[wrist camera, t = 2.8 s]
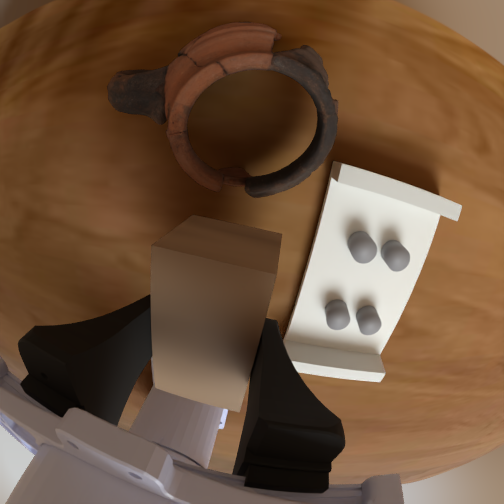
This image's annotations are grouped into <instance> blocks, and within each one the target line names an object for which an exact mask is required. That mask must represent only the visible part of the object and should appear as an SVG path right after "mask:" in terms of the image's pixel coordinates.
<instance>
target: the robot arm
mask: <svg viewBox="0 0 504 504" xmlns="http://www.w3.org/2000/svg"><path fill="white" fill-rule="evenodd" d="M18 348H19V352H20V355H21V357H22V360H23V362H24V364H25V366H26V369H27V371H28V373H29V374H28V375H27V376H26V378H25V379H24V380H23V381H21V380H20V379H19V378H17V377H16V376H15V375H13V374H12V373H11V372H10V371H8V367H7V365H6V363H5V361H4V360H3V359H2V357H1V356H0V425H1V426H3V427H4V428H5V429H6V430H7V431H8V432H9V433H10V434H11V435H12V436H13V437H14V438H15V439H17V440H18V441H19V442H20V443H21V444H22V445H23V446H25V447H26V448H27V449H28V450H29V451H30V452H32V453H33V454H34V455H35V456H34V458H33V460H32V461H31V463H30V464H29V466H28V467H27V469H26V470H25V472H24V474H23V475H22V477H21V478H20V480H19V482H18V483H17V485H16V487H15V488H14V490H13V492H12V493H11V495H10V497H9V498H8V500H7V502H6V504H404V500H403V492H402V486H401V480H400V474H388V475H378V476H373V477H370V478H368V479H366V480H365V481H364V482H363V483H362V484H340V485H329V472H330V471H331V469H332V468H331V462H332V461H333V460H334V459H335V458H336V457H337V456H338V455H339V454H340V453H341V452H342V450H343V449H344V447H345V435H344V430H343V426H342V423H341V420H340V419H339V418H338V417H337V416H336V415H334V414H333V413H332V412H331V411H330V410H329V409H327V408H326V407H325V406H324V405H323V404H322V403H321V402H320V401H319V400H318V399H317V398H316V397H315V395H314V394H313V393H312V392H311V391H310V389H309V388H308V387H307V386H306V384H305V383H304V381H303V380H302V379H301V377H300V375H299V374H298V372H297V370H296V369H295V367H294V365H293V363H292V361H291V359H290V357H289V355H288V353H287V350H286V348H285V345H284V343H283V340H282V337H281V334H280V330H279V326H278V322H277V321H276V320H273V319H268V318H265V322H264V326H263V330H262V333H261V337H260V341H259V345H258V348H257V352H256V356H255V359H254V363H253V366H252V370H251V374H250V384H249V395H248V405H247V412H246V417H245V421H244V426H243V431H242V435H241V440H240V444H239V448H238V453H237V457H236V461H235V465H234V469H233V473H232V474H228V473H223V472H218V471H214V470H210V469H207V468H208V464H209V461H210V457H211V453H212V450H213V446H214V443H215V439H216V435H217V432H218V429H223V428H224V425H225V421H226V416H227V412H228V410H227V409H223V408H219V407H215V406H212V405H208V404H204V403H201V402H197V401H194V400H190V399H187V398H184V397H181V396H178V395H175V394H171V393H168V392H166V391H163V390H160V389H157V388H155V382H154V370H153V356H152V336H151V294H150V295H148V296H146V297H144V298H142V299H140V300H138V301H136V302H134V303H132V304H130V305H128V306H126V307H123V308H121V309H119V310H116V311H114V312H112V313H109V314H106V315H104V316H101V317H97V318H94V319H90V320H86V321H82V322H77V323H71V324H64V325H53V326H34V327H33V328H32V329H31V330H30V331H29V332H28V333H27V334H26V335H24V336H23V337H22V338H21V339H20V340H19V342H18ZM151 357H152V358H151ZM150 358H151V364H152V376H153V387H152V388H151V390H150V392H149V394H148V396H147V398H146V400H145V402H144V403H143V405H142V407H141V409H140V411H139V413H138V415H137V417H136V419H135V420H134V422H133V424H132V426H131V428H130V430H129V431H126V430H124V429H122V428H120V427H117V425H118V422H119V419H120V417H121V414H122V412H123V409H124V407H125V404H126V402H127V400H128V398H129V395H130V393H131V391H132V389H133V387H134V385H135V383H136V381H137V379H138V377H139V375H140V374H141V372H142V371H143V369H144V367H145V366H146V364H147V363H148V361H149V360H150Z"/></svg>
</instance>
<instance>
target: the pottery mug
mask: <svg viewBox="0 0 504 504" xmlns="http://www.w3.org/2000/svg"><path fill="white" fill-rule="evenodd" d="M280 39H281V35H280V34H279V33H277V31H276V30H275V29H272V28H271V27H269V26H267V25H265V24H260V23H251V22H234V23H229V24H224V25H221V26H217V27H215V28H212V29H210V30H208V31H207V32H206V33H203V34H202V35H200V36H198V37H197V38H195V39H194V40H192V41H191V42H189V43H188V44H187V45H186V46H185V47H183V48H182V49H181V50H180V52H179V53H178V57H177V58H175V59H174V61H173V62H172V63H170V65H168V66H165V67H162V68H160V69H156V70H126V71H119V72H117V73H116V75H115V76H114V77H112V79H111V81H110V83H109V84H108V86H107V89H108V100H109V102H110V103H111V104H112V106H113V107H114V108H115V109H116V110H117V111H120V112H124V113H128V114H139V115H145V116H148V117H150V118H151V119H153V120H154V121H155V122H156V123H157V124H159V125H160V124H164V123H165V122H166V120H168V130H166V135H167V137H168V139H169V141H170V146H171V149H172V150H173V153H174V156H175V158H176V160H177V162H178V163H179V165H180V166H181V168H182V169H183V170H184V171H185V172H186V173H187V174H188V175H189V177H191V178H192V179H193V180H195V182H197V183H198V184H200V185H202V186H204V187H206V188H207V189H210V190H212V191H216V192H219V191H220V190H221V188H222V185H223V184H226V185H230V186H245V191H246V193H248V194H249V195H250V196H252V197H254V198H259V197H264V196H269V195H274V194H276V193H279V192H282V191H285V190H288V189H290V188H292V187H294V186H296V185H298V184H299V183H301V182H302V181H304V180H305V179H306V178H307V177H309V176H310V175H311V172H313V171H315V170H316V169H317V168H318V167H319V166H320V165H321V164H322V163H323V162H324V160H325V158H326V157H327V155H328V154H329V152H330V150H331V149H332V147H333V144H334V141H335V137H336V133H337V122H338V117H337V113H338V100H334V99H332V97H331V93H330V90H329V89H328V85H329V83H328V75H327V72H326V70H325V69H324V67H323V61H322V58H321V57H320V55H318V54H317V53H316V52H315V51H314V50H313V49H312V48H311V47H310V46H307V45H303V46H301V48H297V49H292V50H289V51H282V52H275V53H273V52H272V49H273V45H274V41H278V40H280ZM246 70H273V71H276V72H279V73H282V74H284V75H287V76H289V77H291V78H292V79H294V80H296V81H297V82H298V83H300V84H301V85H302V86H303V87H304V88H305V89H306V90H307V92H308V93H309V94H310V96H311V97H312V99H313V101H314V103H315V106H316V108H317V117H318V120H317V129H316V133H315V136H314V138H313V140H312V142H311V144H310V146H309V147H308V148H307V149H306V151H305V152H304V153H303V154H302V155H301V156H300V157H299V158H298V159H296V160H295V161H294V162H292V163H291V164H290V165H288V166H286V167H284V168H282V169H281V170H279V171H276V172H273V173H270V174H267V175H262V176H255V177H252V176H250V174H249V173H247V172H246V171H245V170H244V169H243V168H223V169H219V170H218V171H217V170H215V169H213V168H211V167H210V166H208V165H207V164H206V163H204V162H203V161H202V160H201V159H200V158H199V157H198V156H197V155H196V153H195V152H194V150H193V148H192V146H191V144H190V142H189V138H188V129H187V122H188V117H189V114H190V111H191V109H192V107H193V105H194V103H195V101H196V100H197V98H198V97H199V96H200V95H201V93H202V92H203V91H204V90H205V89H206V88H208V87H209V86H210V85H211V84H213V83H214V82H216V81H217V80H219V79H221V78H223V77H225V76H227V75H230V74H233V73H237V72H240V71H246Z"/></svg>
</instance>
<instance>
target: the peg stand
mask: <svg viewBox="0 0 504 504" xmlns="http://www.w3.org/2000/svg"><path fill="white" fill-rule="evenodd" d="M461 208H462V205H460V204H457V203H455V202H453V201H451V200H448V199H446V198H444V197H441V196H439V195H436V194H434V193H431V192H429V191H426V190H423V189H421V188H418V187H415V186H413V185H410V184H407V183H404V182H401V181H398V180H396V179H393V178H390V177H387V176H383V175H380V174H377V173H374V172H371V171H368V170H364V169H361V168H358V167H354V166H351V165H347V164H343V163H340V162H336V161H333V164H332V168H331V173H330V177H329V181H328V186H327V190H326V194H325V198H324V202H323V206H322V210H321V214H320V218H319V222H318V225H317V229H316V233H315V237H314V240H313V244H312V248H311V251H310V255H309V258H308V262H307V265H306V269H305V272H304V276H303V279H302V283H301V286H300V289H299V293H298V296H297V299H296V302H295V306H294V309H293V312H292V315H291V318H290V321H289V325H288V328H287V331H286V334H285V337H284V340H283V343H284V345H285V348H286V350H287V353H288V355H289V357H290V359H291V361H292V363H293V365H294V367H295V369H296V370H297V372H301V373H307V374H313V375H320V376H327V377H335V378H343V379H351V380H361V381H372V382H380V381H381V380H382V378H383V377H384V375H385V374H386V373H385V369H384V366H383V363H382V360H381V357H380V354H381V352H382V350H383V348H384V346H385V345H386V343H387V341H388V339H389V337H390V335H391V334H392V332H393V330H394V328H395V326H396V324H397V322H398V320H399V318H400V316H401V314H402V312H403V310H404V308H405V305H406V303H407V301H408V299H409V297H410V295H411V292H412V290H413V288H414V286H415V283H416V281H417V278H418V276H419V274H420V271H421V269H422V266H423V264H424V261H425V258H426V256H427V253H428V250H429V248H430V245H431V242H432V239H433V236H434V233H435V230H436V227H437V224H438V221H439V218H440V215H442V216H445V217H447V218H450V219H453V220H455V221H458V218H459V215H460V212H461Z"/></svg>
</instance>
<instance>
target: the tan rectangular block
mask: <svg viewBox="0 0 504 504" xmlns="http://www.w3.org/2000/svg"><path fill="white" fill-rule="evenodd" d="M281 238H282V234H280V233H276V232H271V231H267V230H262V229H258V228H253V227H249V226H244V225H239V224H235V223H230V222H225V221H221V220H216V219H211V218H206V217H201V216H197V215H192V216H190V217H189V218H188V219H186V220H185V221H183V222H182V223H181V224H179V225H178V226H177V227H175V228H174V229H173V230H171V231H170V232H169V233H167V234H166V235H164V236H163V237H162V238H160V239H159V240H158V241H157V242H155V243H154V244H153V245H152V248H151V336H152V355H153V370H154V382H155V388H157V389H160V390H163V391H166V392H168V393H171V394H175V395H178V396H181V397H184V398H187V399H190V400H194V401H197V402H201V403H204V404H208V405H212V406H215V407H219V408H223V409H227V410H232V411H236V412H240V409H241V405H242V402H243V398H244V395H245V391H246V388H247V384H248V381H249V377H250V374H251V370H252V366H253V363H254V359H255V356H256V352H257V348H258V345H259V341H260V337H261V333H262V330H263V326H264V322H265V318H266V314H267V311H268V307H269V303H270V299H271V295H272V291H273V287H274V283H275V279H276V275H277V268H278V261H279V254H280V246H281Z"/></svg>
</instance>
